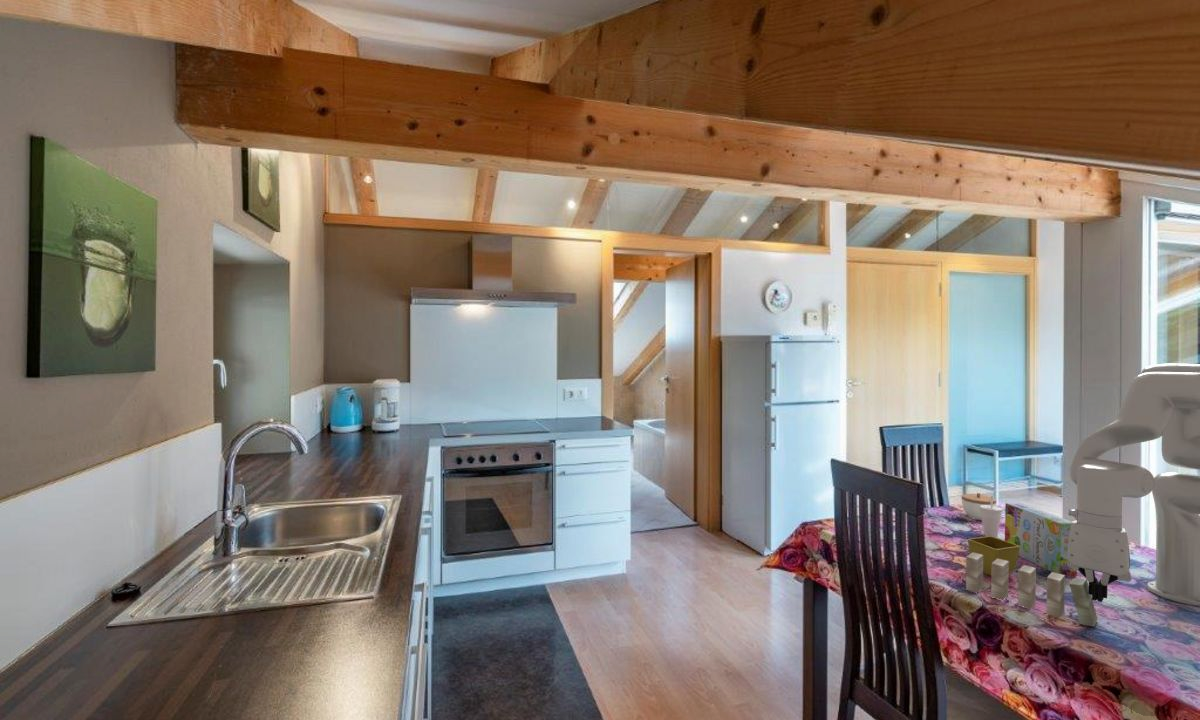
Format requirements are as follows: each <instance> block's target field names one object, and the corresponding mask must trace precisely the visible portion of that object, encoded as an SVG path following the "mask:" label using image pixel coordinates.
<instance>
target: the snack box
mask: <svg viewBox="0 0 1200 720" xmlns="http://www.w3.org/2000/svg"><path fill="white" fill-rule="evenodd" d="M1004 507H1005V509H1004V516H1005V517H1004V518H1005V519H1004V541H1007V542H1010V543H1013V544H1016V545H1018V546H1020V549H1019V555H1018V557H1021V558H1023V559H1025V560H1027V561H1029V562H1031V563H1033V564H1035V565H1037V566H1039V567H1041V568H1043V569H1045V570H1047V571H1050V572H1051V573H1052V572H1054V573H1058V574H1062V575H1065V577H1077V576H1078V575H1077V574H1078V570H1075V569H1072V568H1070V567H1068V566H1067V563H1068V541H1069V533H1070V528H1071V524H1072V522H1073V521H1071V520H1069V519H1067V518H1066V519H1065V518H1063V517H1062V516H1061V517H1060V516H1058V515H1055V514H1052V513H1049V512H1046V511H1043V510H1041V509H1039V508H1036V507H1033V506H1030V505H1027V504H1024V503H1020V502H1019V503H1017V502H1005V506H1004Z"/></svg>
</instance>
